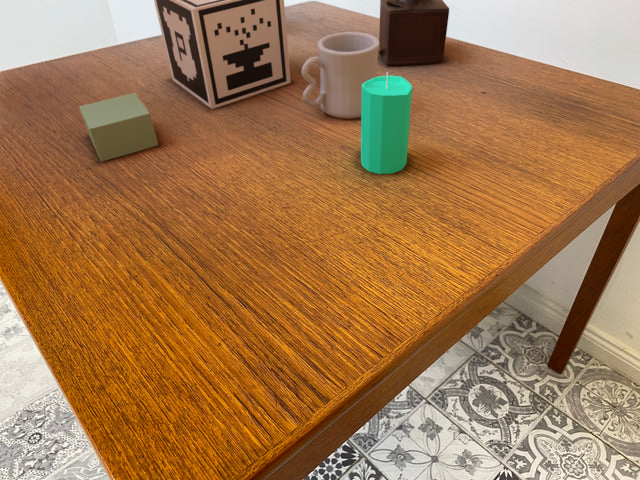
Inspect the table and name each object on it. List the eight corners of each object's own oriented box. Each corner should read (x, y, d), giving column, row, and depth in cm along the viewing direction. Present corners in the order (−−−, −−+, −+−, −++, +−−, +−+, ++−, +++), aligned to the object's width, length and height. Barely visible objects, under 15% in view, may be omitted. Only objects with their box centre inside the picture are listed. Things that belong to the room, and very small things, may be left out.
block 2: (246, 58, 98) (234, -30, 88) (290, 82, 88) (282, -13, 78) (172, 80, 91) (151, -12, 81) (211, 109, 82) (192, 9, 72)
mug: (358, 89, 85) (358, 26, 78) (390, 110, 79) (393, 44, 72) (290, 109, 80) (285, 44, 74) (319, 132, 74) (315, 64, 68)
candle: (370, 177, 65) (372, 86, 57) (354, 154, 69) (354, 66, 62) (414, 168, 66) (422, 78, 58) (395, 146, 70) (401, 59, 63)
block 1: (101, 162, 71) (89, 129, 67) (90, 137, 76) (78, 106, 73) (158, 145, 73) (149, 113, 70) (144, 123, 79) (135, 92, 76)
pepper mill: (374, 46, 100) (376, -61, 88) (431, 42, 100) (441, -65, 88) (387, 78, 88) (392, -40, 76) (451, 74, 88) (466, -45, 76)
